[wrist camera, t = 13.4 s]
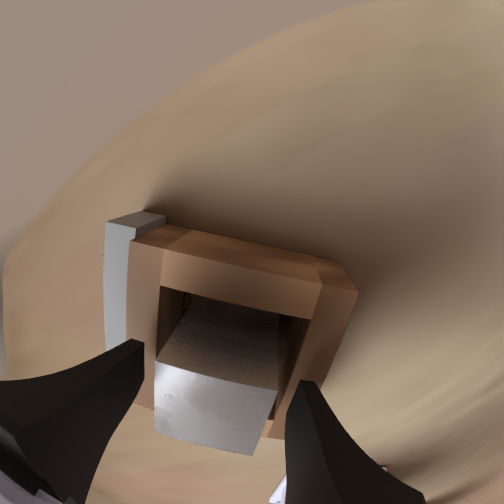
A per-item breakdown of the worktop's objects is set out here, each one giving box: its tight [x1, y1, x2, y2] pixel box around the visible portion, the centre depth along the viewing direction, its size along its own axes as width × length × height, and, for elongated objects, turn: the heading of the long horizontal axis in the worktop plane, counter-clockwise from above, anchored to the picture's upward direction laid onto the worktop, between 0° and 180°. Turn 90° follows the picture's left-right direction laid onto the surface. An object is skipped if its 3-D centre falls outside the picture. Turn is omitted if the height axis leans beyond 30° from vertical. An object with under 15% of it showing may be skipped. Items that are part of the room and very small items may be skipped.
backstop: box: [103, 211, 167, 352], centre depth 14 cm, size 2×10×4 cm, turn 169°
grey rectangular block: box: [154, 295, 279, 456], centre depth 12 cm, size 4×4×7 cm
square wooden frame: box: [126, 224, 359, 440], centre depth 14 cm, size 9×9×4 cm
